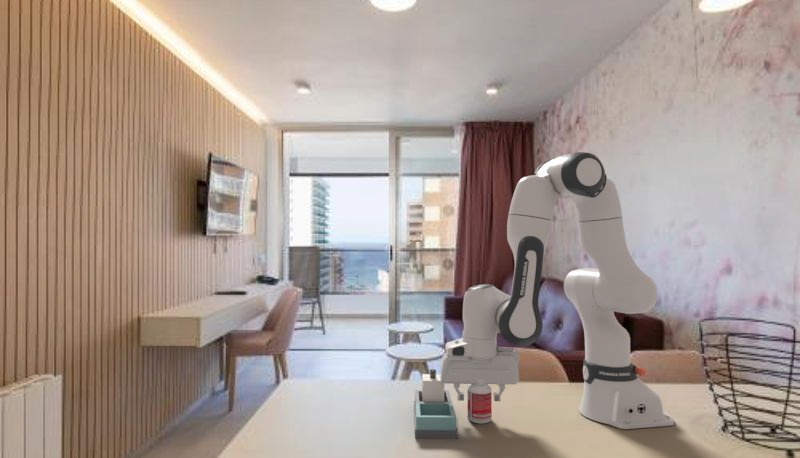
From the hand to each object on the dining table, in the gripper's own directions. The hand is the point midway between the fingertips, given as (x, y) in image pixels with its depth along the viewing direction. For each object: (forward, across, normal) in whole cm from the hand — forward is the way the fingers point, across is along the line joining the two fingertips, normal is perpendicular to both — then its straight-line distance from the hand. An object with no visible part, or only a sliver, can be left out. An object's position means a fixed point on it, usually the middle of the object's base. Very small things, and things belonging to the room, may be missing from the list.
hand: (478, 400), depth 116 cm
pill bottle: (+5, 0, 0) cm, 5 cm away
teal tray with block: (+5, +12, +2) cm, 13 cm away
